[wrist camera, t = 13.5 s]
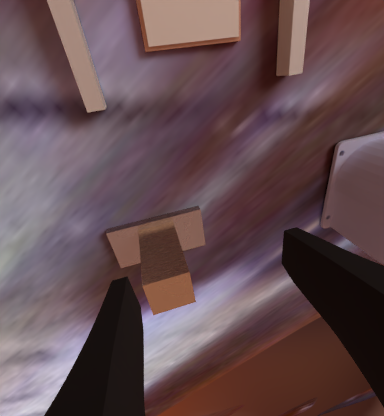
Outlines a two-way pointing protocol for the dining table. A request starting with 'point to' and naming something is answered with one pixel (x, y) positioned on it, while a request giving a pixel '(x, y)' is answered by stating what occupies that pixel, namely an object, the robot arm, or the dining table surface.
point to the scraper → (161, 254)
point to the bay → (86, 75)
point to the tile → (188, 23)
